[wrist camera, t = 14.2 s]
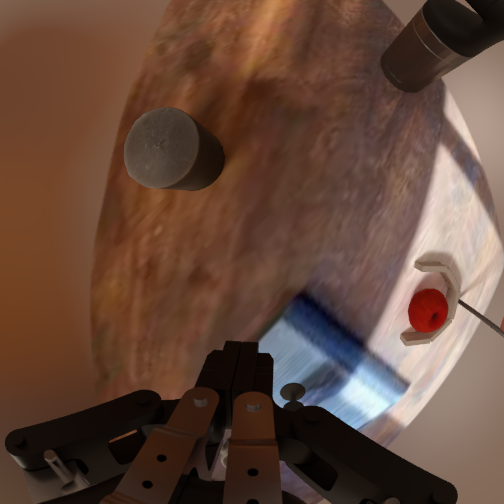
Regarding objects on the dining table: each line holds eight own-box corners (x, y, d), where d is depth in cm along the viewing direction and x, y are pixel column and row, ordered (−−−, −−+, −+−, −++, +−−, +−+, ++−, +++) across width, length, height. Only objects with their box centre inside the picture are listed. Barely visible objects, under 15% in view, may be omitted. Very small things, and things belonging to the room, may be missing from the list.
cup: (399, 338, 44) (441, 396, 26) (414, 261, 41) (476, 298, 23) (448, 332, 43) (495, 379, 26) (464, 262, 40) (526, 292, 22)
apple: (442, 290, 41) (462, 304, 34) (422, 326, 43) (440, 345, 36) (414, 276, 41) (434, 290, 34) (393, 315, 43) (410, 334, 36)
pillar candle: (237, 158, 40) (216, 139, 25) (193, 203, 42) (152, 207, 27) (195, 119, 39) (158, 86, 24) (155, 163, 41) (103, 151, 26)
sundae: (272, 401, 49) (269, 457, 34) (280, 377, 48) (280, 435, 33) (303, 405, 49) (308, 460, 34) (313, 382, 47) (322, 439, 33)
